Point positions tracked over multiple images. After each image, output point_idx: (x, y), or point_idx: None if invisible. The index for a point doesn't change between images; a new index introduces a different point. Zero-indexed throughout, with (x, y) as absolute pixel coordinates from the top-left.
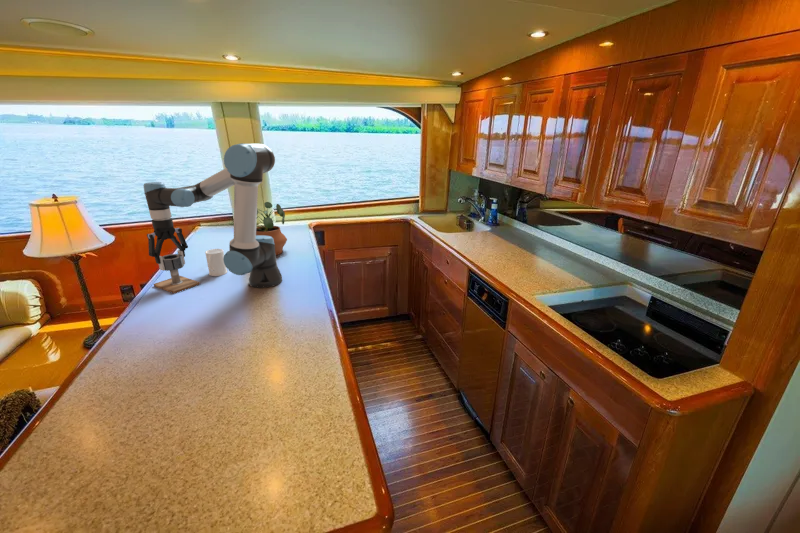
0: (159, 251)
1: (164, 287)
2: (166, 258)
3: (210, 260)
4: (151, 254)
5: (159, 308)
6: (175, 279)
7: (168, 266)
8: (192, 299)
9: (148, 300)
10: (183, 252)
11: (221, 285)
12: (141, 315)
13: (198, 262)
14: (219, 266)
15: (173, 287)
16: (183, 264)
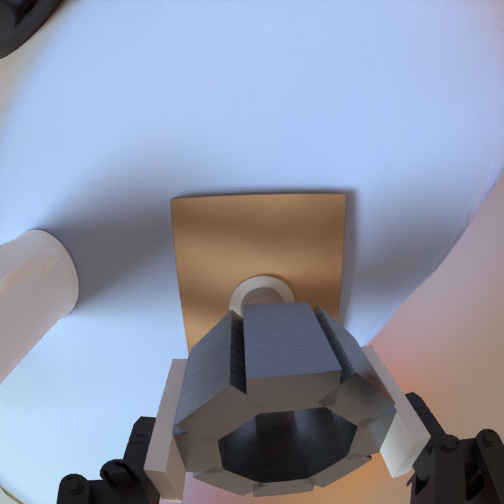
0: (446, 489)
1: (337, 295)
2: (294, 462)
3: (10, 300)
4: (499, 448)
5: (447, 102)
6: (278, 302)
7: (353, 347)
8: (325, 40)
9: (433, 227)
10: (137, 455)
11: (117, 80)
12: (491, 117)
13: (81, 438)
14: (10, 248)
15: (312, 254)
16: (197, 348)
